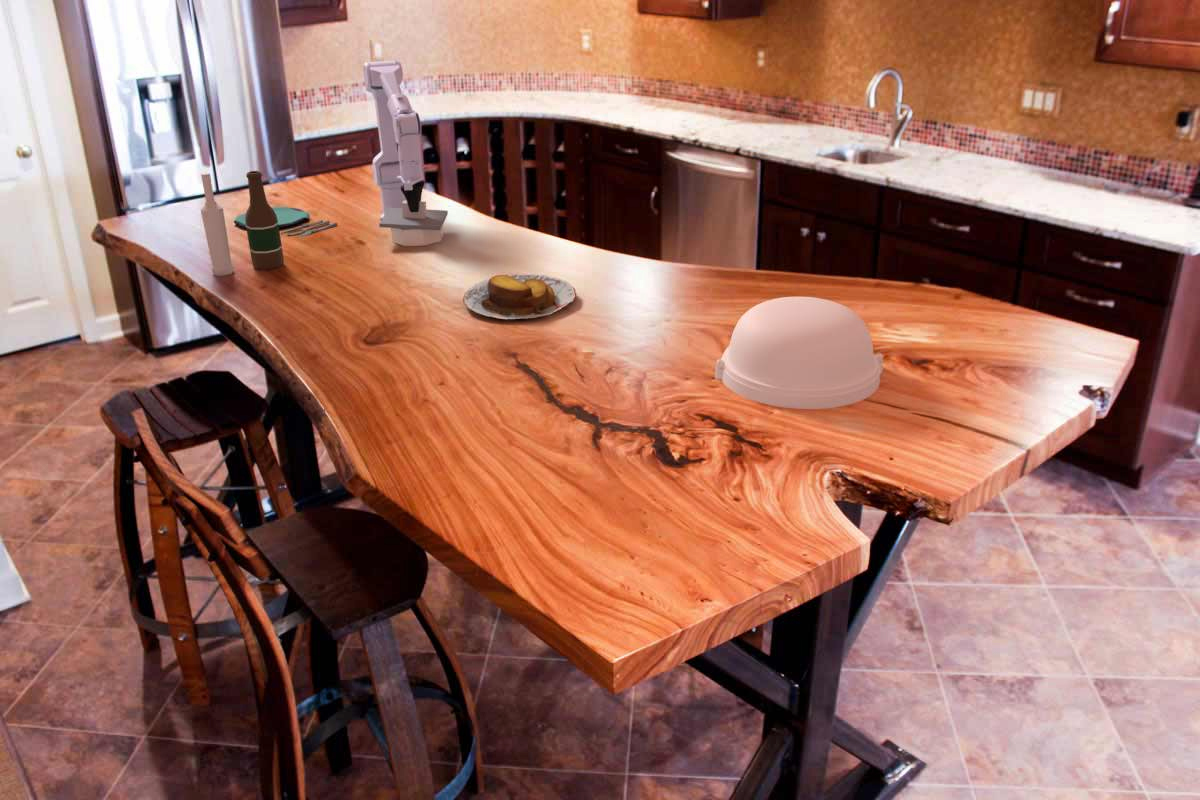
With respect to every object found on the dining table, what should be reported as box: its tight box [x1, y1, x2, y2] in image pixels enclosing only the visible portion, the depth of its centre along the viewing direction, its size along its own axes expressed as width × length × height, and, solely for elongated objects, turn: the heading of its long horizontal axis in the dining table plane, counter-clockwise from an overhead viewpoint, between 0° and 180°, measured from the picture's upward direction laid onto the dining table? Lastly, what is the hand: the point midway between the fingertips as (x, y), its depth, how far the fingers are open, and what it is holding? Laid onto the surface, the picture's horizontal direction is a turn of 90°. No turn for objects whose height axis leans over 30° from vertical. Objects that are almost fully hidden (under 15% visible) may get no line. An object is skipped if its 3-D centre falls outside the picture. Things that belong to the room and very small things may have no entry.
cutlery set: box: [233, 206, 338, 239], centre depth 304 cm, size 20×30×2 cm, turn 52°
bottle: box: [200, 172, 234, 277], centre depth 259 cm, size 5×5×25 cm
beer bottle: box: [245, 170, 285, 271], centre depth 264 cm, size 8×8×24 cm
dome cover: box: [714, 296, 884, 410], centre depth 198 cm, size 32×30×14 cm
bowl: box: [390, 227, 444, 247], centre depth 287 cm, size 13×13×4 cm
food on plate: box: [461, 273, 577, 321], centre depth 238 cm, size 25×25×7 cm
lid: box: [378, 200, 449, 230], centre depth 285 cm, size 16×16×5 cm
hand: (415, 210), depth 284 cm, fingers closed on lid, 2 cm apart
